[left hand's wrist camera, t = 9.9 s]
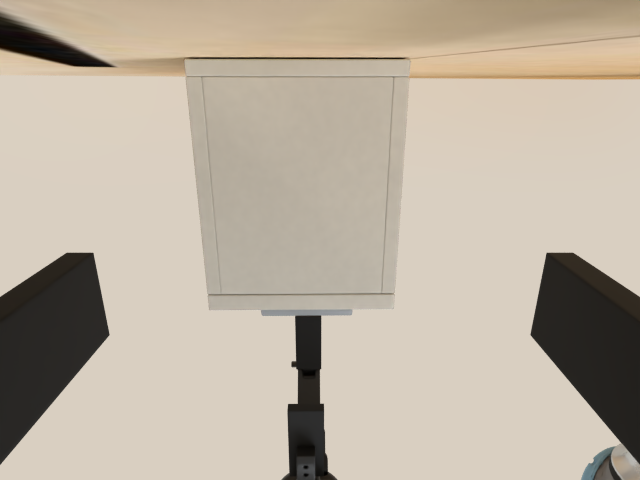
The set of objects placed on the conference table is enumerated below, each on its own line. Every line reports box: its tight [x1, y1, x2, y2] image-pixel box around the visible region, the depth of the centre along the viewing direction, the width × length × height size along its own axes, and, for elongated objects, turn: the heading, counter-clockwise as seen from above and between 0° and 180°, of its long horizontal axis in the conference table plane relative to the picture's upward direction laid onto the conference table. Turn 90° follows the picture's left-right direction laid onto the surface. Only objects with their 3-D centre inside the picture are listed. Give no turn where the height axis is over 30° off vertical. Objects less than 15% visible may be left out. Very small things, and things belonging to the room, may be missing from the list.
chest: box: [184, 59, 410, 294], centre depth 27 cm, size 15×10×11 cm, turn 179°
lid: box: [208, 292, 395, 316], centre depth 31 cm, size 16×10×8 cm, turn 179°
